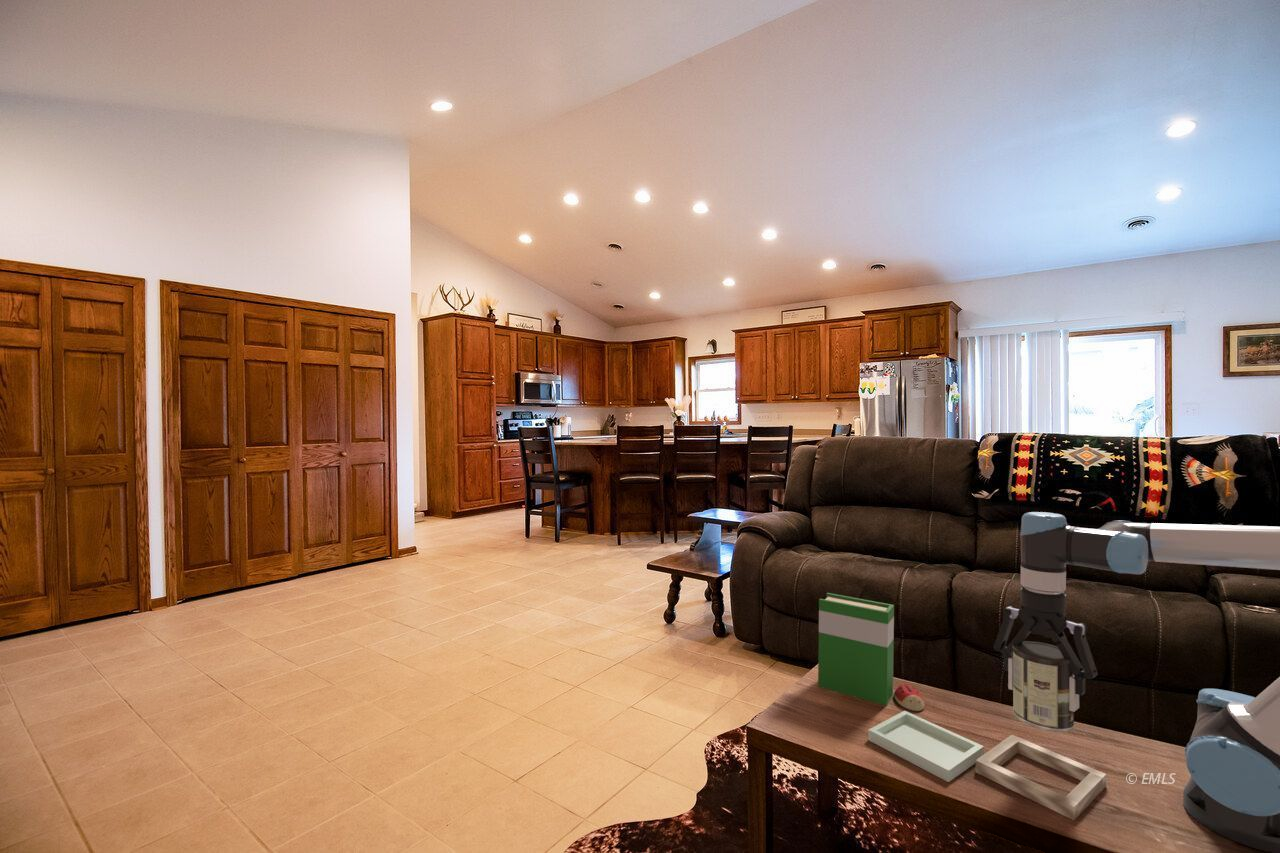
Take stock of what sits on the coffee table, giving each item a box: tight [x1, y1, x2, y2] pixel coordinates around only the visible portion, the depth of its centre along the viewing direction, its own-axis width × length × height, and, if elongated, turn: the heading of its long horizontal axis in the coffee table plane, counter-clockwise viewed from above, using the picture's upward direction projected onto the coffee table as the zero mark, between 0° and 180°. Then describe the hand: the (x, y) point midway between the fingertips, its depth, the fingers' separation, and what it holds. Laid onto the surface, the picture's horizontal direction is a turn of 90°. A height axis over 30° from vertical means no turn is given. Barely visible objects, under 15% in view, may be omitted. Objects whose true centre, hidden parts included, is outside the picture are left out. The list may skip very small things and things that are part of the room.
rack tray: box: [867, 710, 985, 783], centre depth 125 cm, size 18×15×2 cm
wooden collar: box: [975, 734, 1107, 821], centre depth 114 cm, size 17×17×2 cm
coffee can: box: [1012, 640, 1075, 733], centre depth 114 cm, size 10×10×14 cm
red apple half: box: [893, 683, 926, 712], centre depth 146 cm, size 7×10×4 cm
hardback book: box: [817, 592, 895, 707], centre depth 152 cm, size 18×7×24 cm, turn 55°
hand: (1042, 698), depth 114 cm, fingers closed on coffee can, 10 cm apart
